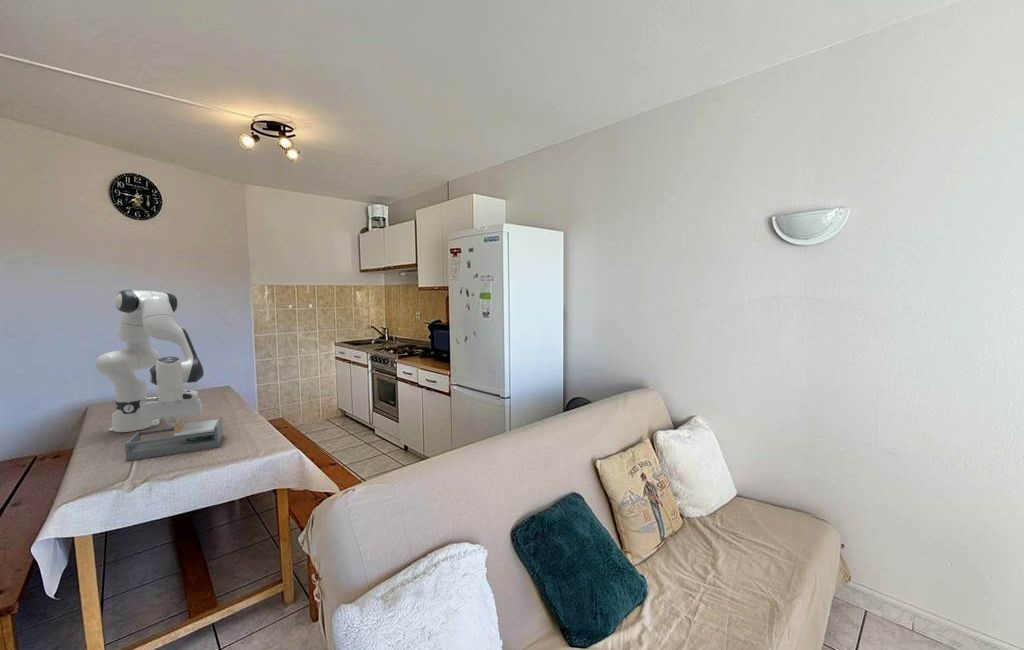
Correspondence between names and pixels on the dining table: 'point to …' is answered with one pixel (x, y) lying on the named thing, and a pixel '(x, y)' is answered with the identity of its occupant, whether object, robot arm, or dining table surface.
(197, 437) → the teal rounded capsule
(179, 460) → the dining table surface
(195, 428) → the lid
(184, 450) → the housing
